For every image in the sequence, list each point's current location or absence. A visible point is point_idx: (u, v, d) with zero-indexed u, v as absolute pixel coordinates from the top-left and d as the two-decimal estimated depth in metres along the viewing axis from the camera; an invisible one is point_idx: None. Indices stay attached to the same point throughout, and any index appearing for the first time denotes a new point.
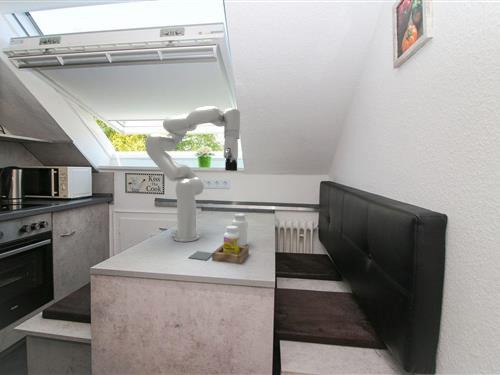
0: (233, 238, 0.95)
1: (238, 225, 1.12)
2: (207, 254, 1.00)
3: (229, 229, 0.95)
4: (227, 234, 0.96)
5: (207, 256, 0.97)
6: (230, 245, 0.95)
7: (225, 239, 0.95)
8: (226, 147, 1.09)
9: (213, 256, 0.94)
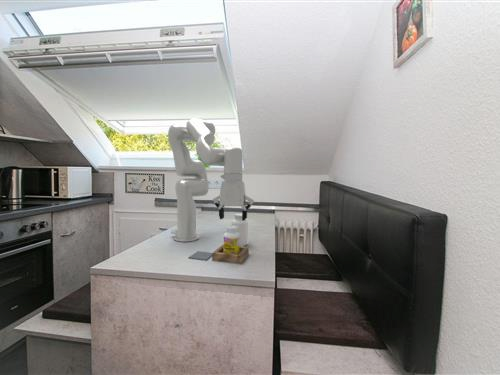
0: (233, 238, 0.95)
1: (238, 225, 1.12)
2: (207, 254, 1.00)
3: (229, 229, 0.95)
4: (227, 234, 0.96)
5: (207, 256, 0.97)
6: (230, 245, 0.95)
7: (225, 239, 0.95)
8: (243, 194, 0.94)
9: (213, 256, 0.94)
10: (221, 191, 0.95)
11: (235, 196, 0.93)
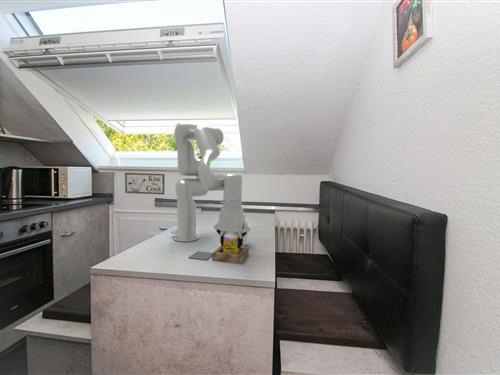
0: (233, 238, 0.95)
1: None
2: (207, 254, 1.00)
3: None
4: (227, 234, 0.96)
5: (207, 256, 0.97)
6: (230, 245, 0.95)
7: (225, 239, 0.95)
8: (242, 220, 0.95)
9: (213, 256, 0.94)
10: (220, 217, 0.96)
11: (234, 223, 0.94)
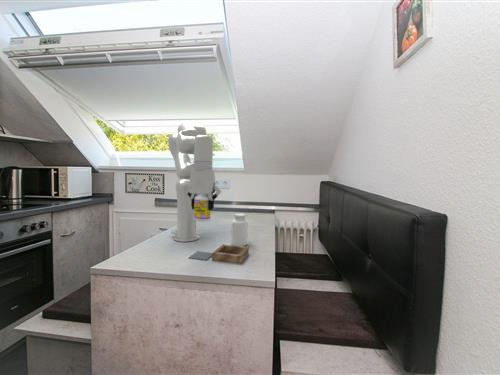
0: (203, 200, 0.94)
1: (238, 225, 1.12)
2: (207, 254, 1.00)
3: None
4: (197, 196, 0.95)
5: (207, 256, 0.97)
6: (200, 207, 0.94)
7: (195, 201, 0.95)
8: (213, 182, 0.94)
9: (213, 256, 0.94)
10: (190, 179, 0.95)
11: (204, 184, 0.93)
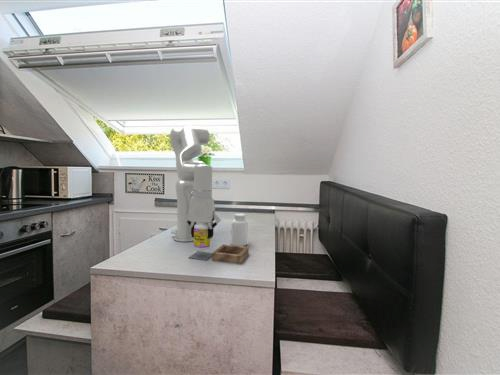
0: (203, 229, 0.94)
1: (238, 225, 1.12)
2: (207, 254, 1.00)
3: None
4: (197, 225, 0.95)
5: (207, 256, 0.97)
6: (200, 236, 0.94)
7: (195, 230, 0.95)
8: (212, 211, 0.95)
9: (213, 256, 0.94)
10: (190, 208, 0.96)
11: (203, 213, 0.94)
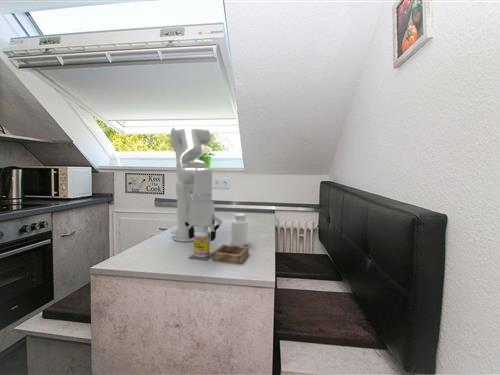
0: (203, 237, 0.95)
1: (238, 225, 1.12)
2: None
3: (199, 227, 0.96)
4: (197, 232, 0.96)
5: (207, 256, 0.97)
6: (200, 243, 0.95)
7: (195, 237, 0.96)
8: (212, 214, 0.95)
9: (213, 256, 0.94)
10: (190, 211, 0.96)
11: (203, 217, 0.94)
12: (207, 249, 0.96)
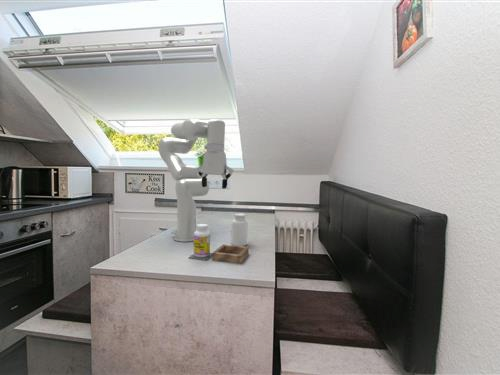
0: (203, 236, 0.95)
1: (238, 225, 1.12)
2: None
3: (199, 227, 0.96)
4: (197, 232, 0.96)
5: (207, 256, 0.97)
6: (200, 243, 0.95)
7: (195, 237, 0.96)
8: (224, 163, 1.01)
9: (213, 256, 0.94)
10: (204, 160, 1.02)
11: (216, 165, 1.00)
12: (207, 249, 0.96)
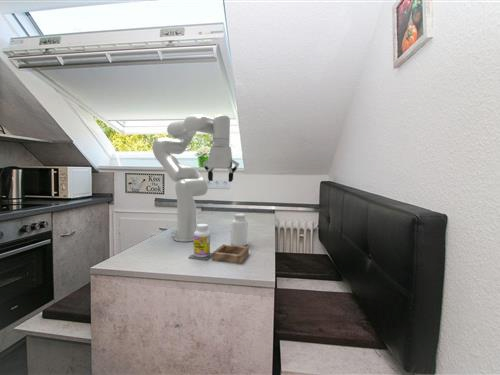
0: (203, 236, 0.95)
1: (238, 225, 1.12)
2: None
3: (199, 227, 0.96)
4: (197, 232, 0.96)
5: (207, 256, 0.97)
6: (200, 243, 0.95)
7: (195, 237, 0.96)
8: (230, 157, 1.04)
9: (213, 256, 0.94)
10: (210, 155, 1.05)
11: (222, 159, 1.04)
12: (207, 249, 0.96)
